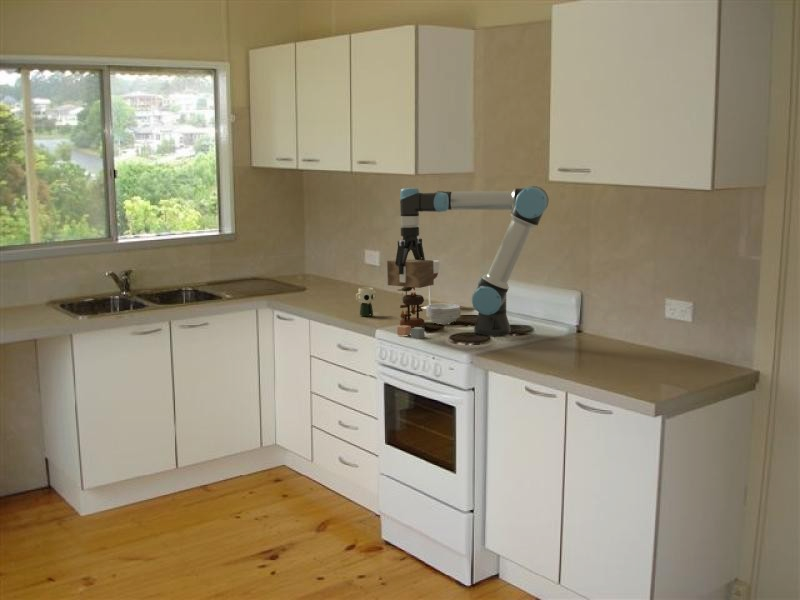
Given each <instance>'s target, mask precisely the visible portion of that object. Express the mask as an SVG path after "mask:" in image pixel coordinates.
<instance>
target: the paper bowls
mask: <svg viewBox="0 0 800 600" xmlns="http://www.w3.org/2000/svg"><path fill="white" fill-rule="evenodd" d="M426 306H427V307H426V308H427V309H426V310H425V311H426V312H425V313H426V315H425V316H426V317H427V318H430V321H431V323H432V322H436V323H441V324H448V323H451V322H453V321H455V322H456V321H457V319H458V318H459V319H460V318H461V312H462V311H461V305H459V304H455V303H441V302H440V303H439V302H438V303H431V304H429V303H428V304H427V305H426ZM448 325H449V324H448Z"/></svg>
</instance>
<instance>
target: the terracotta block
mask: <svg viewBox="0 0 800 600" xmlns="http://www.w3.org/2000/svg"><path fill="white" fill-rule="evenodd" d="M396 328H397V331H396V332H397V334H398V335H410V334H411V326H406V325H402V326H400V325H398V326H397V327H396ZM397 334H396V335H397ZM410 336H411V335H410Z"/></svg>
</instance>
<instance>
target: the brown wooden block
mask: <svg viewBox="0 0 800 600" xmlns="http://www.w3.org/2000/svg"><path fill="white" fill-rule="evenodd" d="M432 260H433V259H425V260H417V259H415V258H413V259H412V258H407V259H406V262H405V265H404V266H406V283H403V282H400V274H399V266H397V265H395V262H396V259H390V260H387V261H386V263H387V264H386V267H387V271H386V272H387V286H392V287H402V288H403V287H415V289H421V288H426V287H429V286H434V285H435V283H434V281H435V279H434V269H433V261H432Z"/></svg>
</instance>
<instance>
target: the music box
mask: <svg viewBox="0 0 800 600" xmlns="http://www.w3.org/2000/svg"><path fill="white" fill-rule="evenodd" d="M412 290H413V291H415V292H413V291H412ZM397 291H399V292H401V291H402V293H401V295H402V298H401V299H402V300H401V301H402V304H401V305H399V308H400V309H405V308H406V310H401V314H400V318H401V319H400V321H399V326H402V325H406V326H411V327H412V326H419V325H423V324H424V325H425V319H423V318H422V317H420V313H419V312H423V308H421V307H424V305H422V304H423V303H424V301H425V300H424V299H425V298H424V296H423V295H422V294H417V293H416V288H415V287H403V286H402V288H398V289H397ZM410 291H412V292H410ZM404 292H405V294H404ZM408 292H410V293H409V294H408ZM415 314H416V317H414V316H413V317H412V315H415Z"/></svg>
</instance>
